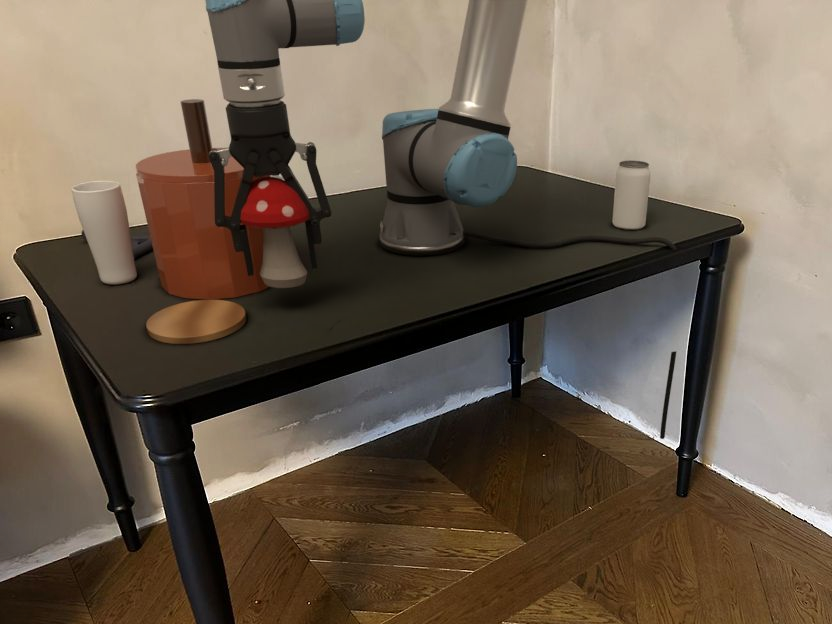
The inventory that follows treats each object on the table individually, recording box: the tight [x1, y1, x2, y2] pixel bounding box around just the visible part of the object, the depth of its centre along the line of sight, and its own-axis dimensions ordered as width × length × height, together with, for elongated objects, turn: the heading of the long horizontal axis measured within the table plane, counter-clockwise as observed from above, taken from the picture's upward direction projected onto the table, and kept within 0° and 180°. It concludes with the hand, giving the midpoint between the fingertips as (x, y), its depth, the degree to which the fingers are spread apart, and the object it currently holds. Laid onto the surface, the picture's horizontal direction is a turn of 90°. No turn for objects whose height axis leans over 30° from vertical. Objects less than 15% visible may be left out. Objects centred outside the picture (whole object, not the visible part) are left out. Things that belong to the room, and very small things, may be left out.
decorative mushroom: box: [241, 177, 309, 289], centre depth 106 cm, size 10×9×15 cm
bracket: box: [81, 229, 153, 260], centre depth 135 cm, size 14×15×3 cm
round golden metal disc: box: [145, 299, 247, 345], centre depth 106 cm, size 13×13×1 cm
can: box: [611, 159, 651, 231], centre depth 146 cm, size 6×6×12 cm
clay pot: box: [135, 98, 271, 300], centre depth 116 cm, size 19×19×27 cm
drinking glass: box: [70, 180, 138, 286], centre depth 117 cm, size 7×7×15 cm
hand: (282, 268), depth 108 cm, fingers closed on decorative mushroom, 8 cm apart
